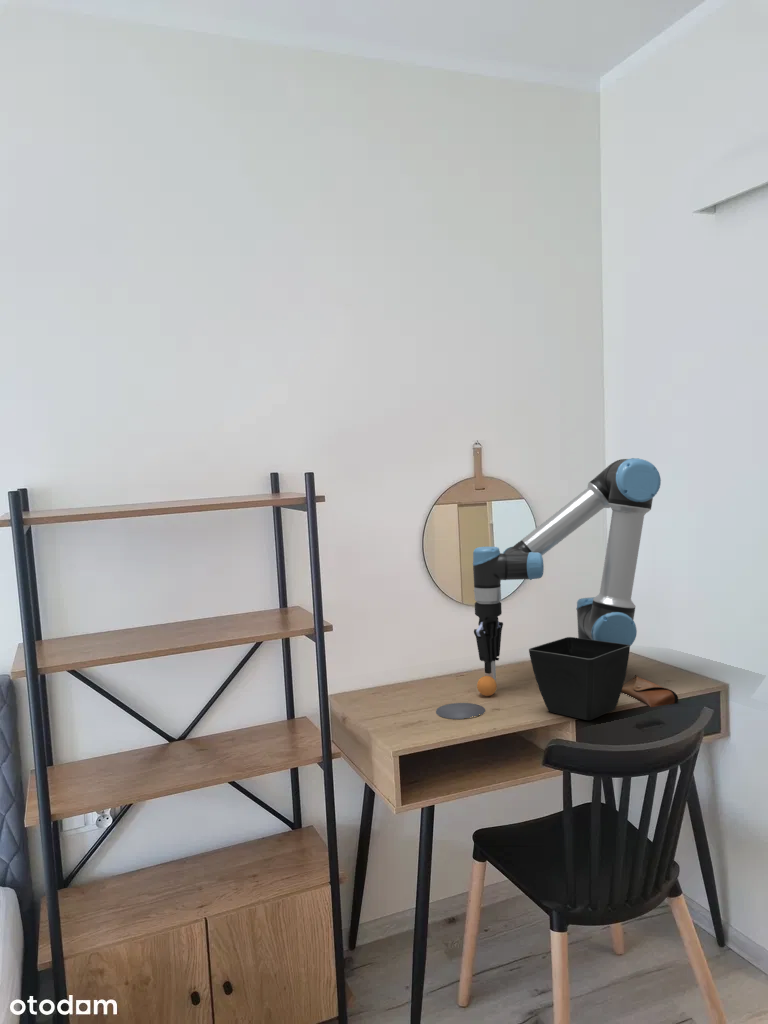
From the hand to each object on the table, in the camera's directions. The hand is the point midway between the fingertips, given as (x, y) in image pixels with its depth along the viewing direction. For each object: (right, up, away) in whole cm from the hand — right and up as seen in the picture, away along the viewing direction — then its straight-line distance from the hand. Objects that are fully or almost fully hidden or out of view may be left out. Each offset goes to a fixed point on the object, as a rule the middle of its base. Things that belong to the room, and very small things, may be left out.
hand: (490, 683), depth 217 cm
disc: (-10, -4, -15) cm, 19 cm away
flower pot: (+21, -3, -20) cm, 29 cm away
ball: (-2, 0, -3) cm, 4 cm away
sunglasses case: (+40, -2, -12) cm, 42 cm away
